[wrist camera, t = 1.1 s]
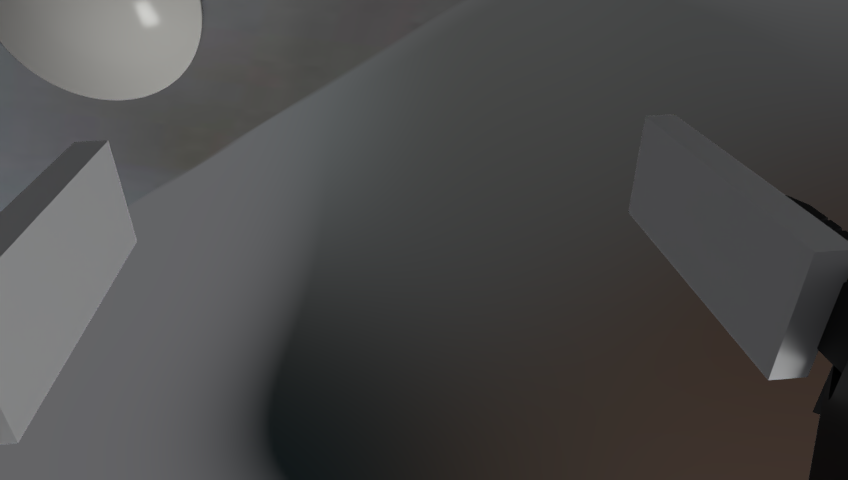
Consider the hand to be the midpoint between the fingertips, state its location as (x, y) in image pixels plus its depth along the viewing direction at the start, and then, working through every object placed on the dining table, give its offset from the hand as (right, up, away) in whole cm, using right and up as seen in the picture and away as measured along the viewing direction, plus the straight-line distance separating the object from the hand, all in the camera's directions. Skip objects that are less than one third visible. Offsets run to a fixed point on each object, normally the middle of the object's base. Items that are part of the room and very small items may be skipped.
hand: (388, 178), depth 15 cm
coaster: (-17, +12, +18) cm, 28 cm away
